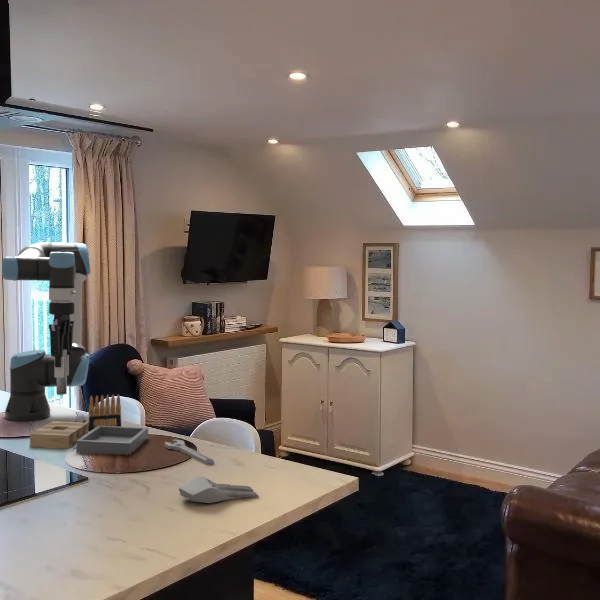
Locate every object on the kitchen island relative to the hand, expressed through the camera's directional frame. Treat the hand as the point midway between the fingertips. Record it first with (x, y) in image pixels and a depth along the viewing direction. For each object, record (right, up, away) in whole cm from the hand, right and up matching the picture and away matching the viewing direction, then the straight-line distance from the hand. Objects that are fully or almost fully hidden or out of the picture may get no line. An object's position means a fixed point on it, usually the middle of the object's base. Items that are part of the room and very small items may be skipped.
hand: (61, 376), depth 222 cm
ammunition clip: (+9, -20, +16) cm, 27 cm away
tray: (+17, -21, -2) cm, 27 cm away
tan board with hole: (-1, -21, +2) cm, 21 cm away
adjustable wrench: (+41, -23, -9) cm, 48 cm away
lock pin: (0, -6, 0) cm, 6 cm away
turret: (+54, -26, -45) cm, 75 cm away
